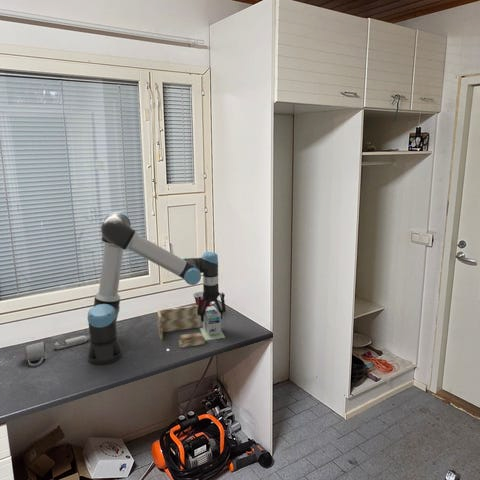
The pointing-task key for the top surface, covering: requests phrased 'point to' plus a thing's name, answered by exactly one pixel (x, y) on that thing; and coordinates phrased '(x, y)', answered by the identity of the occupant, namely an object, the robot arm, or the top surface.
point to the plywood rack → (178, 319)
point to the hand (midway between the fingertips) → (211, 326)
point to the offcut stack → (191, 340)
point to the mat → (212, 336)
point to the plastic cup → (201, 300)
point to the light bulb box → (212, 320)
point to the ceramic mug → (35, 353)
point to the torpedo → (72, 342)
